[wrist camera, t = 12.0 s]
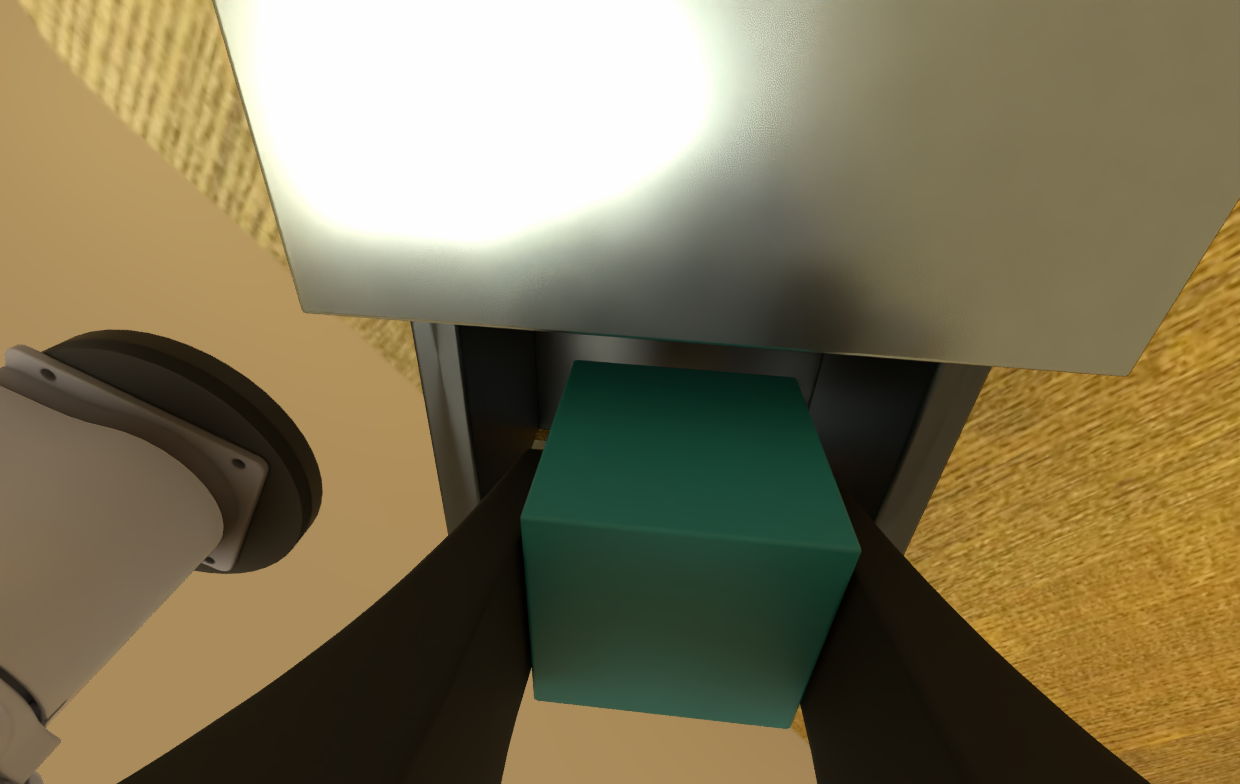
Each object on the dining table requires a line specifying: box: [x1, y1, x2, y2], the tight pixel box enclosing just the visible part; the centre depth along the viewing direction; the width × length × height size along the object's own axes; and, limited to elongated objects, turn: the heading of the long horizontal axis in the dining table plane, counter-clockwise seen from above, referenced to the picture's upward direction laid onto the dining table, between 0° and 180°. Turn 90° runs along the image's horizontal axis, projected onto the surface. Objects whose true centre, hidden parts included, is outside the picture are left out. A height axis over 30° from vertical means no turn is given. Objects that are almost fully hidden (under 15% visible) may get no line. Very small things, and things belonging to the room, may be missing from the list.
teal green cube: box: [520, 360, 861, 729], centre depth 9 cm, size 4×4×4 cm
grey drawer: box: [410, 321, 992, 556], centre depth 13 cm, size 16×10×6 cm, turn 178°
